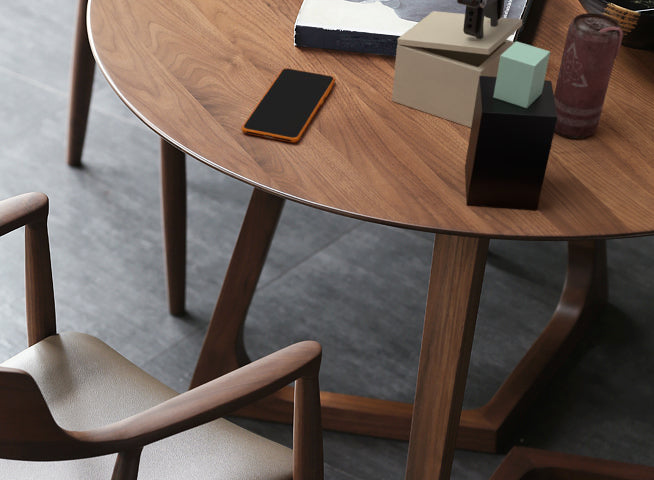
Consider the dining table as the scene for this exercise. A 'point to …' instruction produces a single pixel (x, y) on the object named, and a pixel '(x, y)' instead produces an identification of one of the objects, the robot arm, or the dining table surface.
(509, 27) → the lid
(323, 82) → the smartphone
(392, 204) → the dining table surface
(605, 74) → the can
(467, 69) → the beige box
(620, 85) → the dining table surface
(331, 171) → the dining table surface
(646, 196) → the dining table surface
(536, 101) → the stand
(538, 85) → the mint green block
